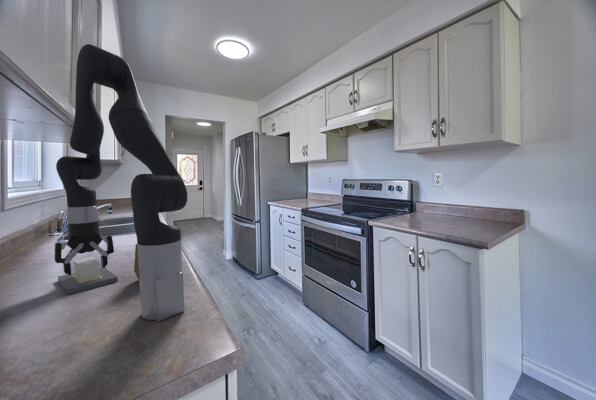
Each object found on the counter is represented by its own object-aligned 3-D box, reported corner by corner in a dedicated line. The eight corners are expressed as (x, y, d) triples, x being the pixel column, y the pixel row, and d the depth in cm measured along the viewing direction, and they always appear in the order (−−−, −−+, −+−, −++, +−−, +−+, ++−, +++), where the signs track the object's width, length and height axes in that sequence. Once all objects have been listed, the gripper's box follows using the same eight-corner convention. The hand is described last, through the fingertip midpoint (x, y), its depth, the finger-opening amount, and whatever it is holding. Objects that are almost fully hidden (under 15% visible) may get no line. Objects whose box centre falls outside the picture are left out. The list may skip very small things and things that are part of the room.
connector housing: (100, 277, 79) (99, 261, 79) (80, 282, 75) (79, 265, 75) (93, 271, 85) (92, 256, 84) (74, 275, 81) (73, 260, 81)
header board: (118, 281, 80) (117, 267, 79) (67, 294, 70) (66, 279, 70) (103, 270, 90) (103, 258, 89) (58, 281, 80) (56, 267, 80)
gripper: (54, 224, 71) (58, 280, 72) (114, 218, 82) (117, 267, 83) (50, 222, 76) (54, 274, 77) (107, 217, 87) (110, 263, 88)
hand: (87, 270), depth 80 cm, fingers open, 8 cm apart
